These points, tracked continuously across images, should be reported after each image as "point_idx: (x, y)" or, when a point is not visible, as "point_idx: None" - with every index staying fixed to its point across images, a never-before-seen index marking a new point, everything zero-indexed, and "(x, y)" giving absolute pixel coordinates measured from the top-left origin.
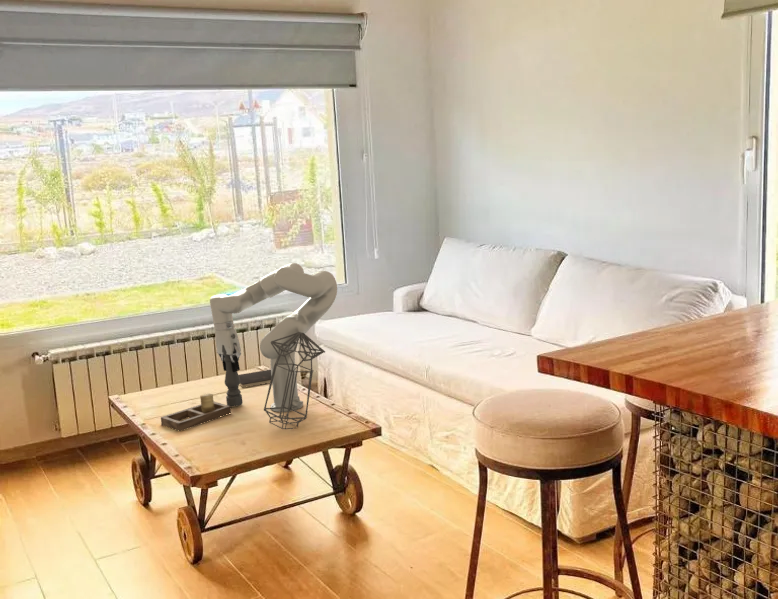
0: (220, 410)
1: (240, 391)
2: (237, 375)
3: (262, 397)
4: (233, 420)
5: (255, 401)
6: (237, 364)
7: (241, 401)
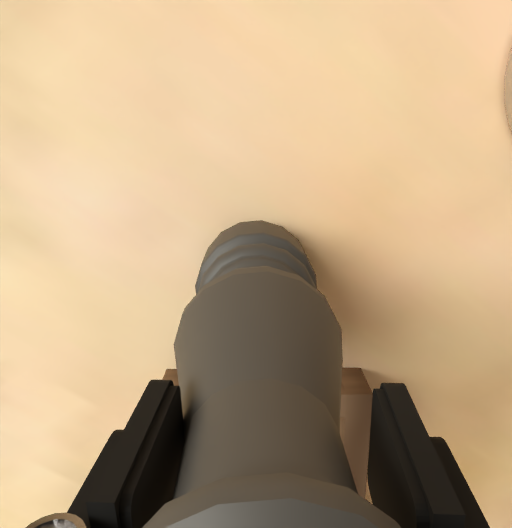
0: (366, 460)
1: (295, 260)
2: (332, 352)
3: (264, 18)
4: (467, 425)
5: (297, 119)
6: (469, 505)
7: (304, 252)
